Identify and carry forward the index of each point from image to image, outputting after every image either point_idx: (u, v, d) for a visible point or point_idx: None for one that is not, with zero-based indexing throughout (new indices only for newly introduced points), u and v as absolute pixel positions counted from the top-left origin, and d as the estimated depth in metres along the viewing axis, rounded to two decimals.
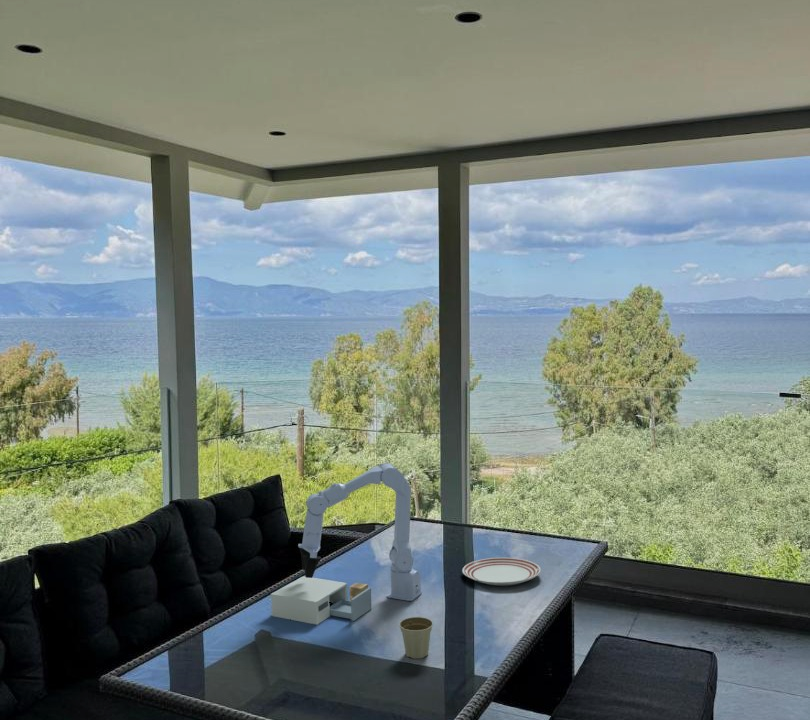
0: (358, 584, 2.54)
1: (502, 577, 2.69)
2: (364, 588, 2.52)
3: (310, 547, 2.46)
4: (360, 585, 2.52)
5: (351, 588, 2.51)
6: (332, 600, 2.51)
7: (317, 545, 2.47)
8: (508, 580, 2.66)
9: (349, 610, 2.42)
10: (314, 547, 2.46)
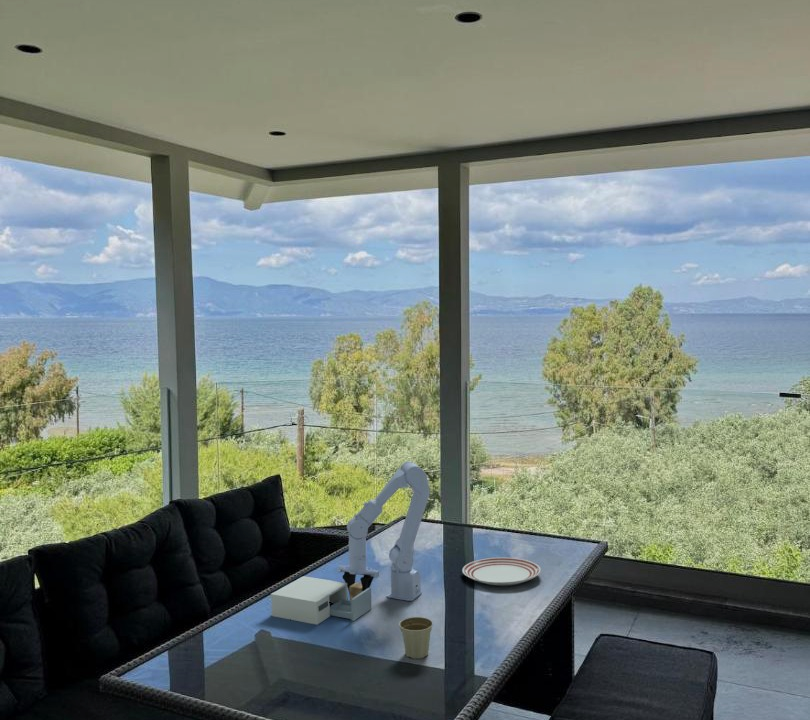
0: (358, 584, 2.54)
1: (502, 577, 2.69)
2: None
3: (364, 569, 2.50)
4: (360, 585, 2.52)
5: (351, 588, 2.51)
6: (332, 600, 2.51)
7: (366, 565, 2.53)
8: (508, 580, 2.66)
9: (349, 610, 2.42)
10: (366, 568, 2.52)
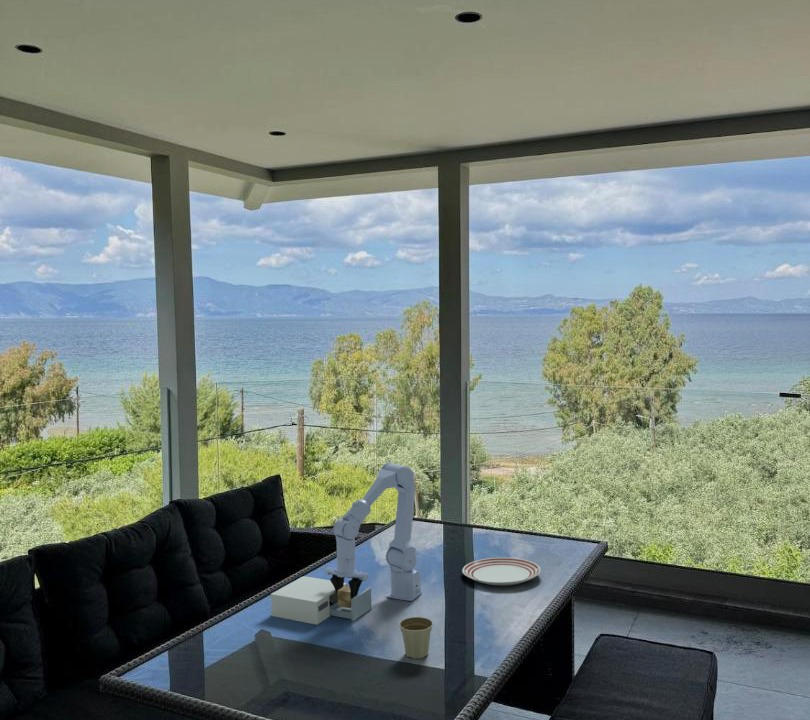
0: (347, 587, 2.43)
1: (502, 577, 2.69)
2: None
3: (353, 572, 2.40)
4: (349, 589, 2.42)
5: (339, 592, 2.41)
6: (332, 600, 2.51)
7: (355, 568, 2.42)
8: (508, 580, 2.66)
9: (349, 610, 2.42)
10: (355, 571, 2.41)
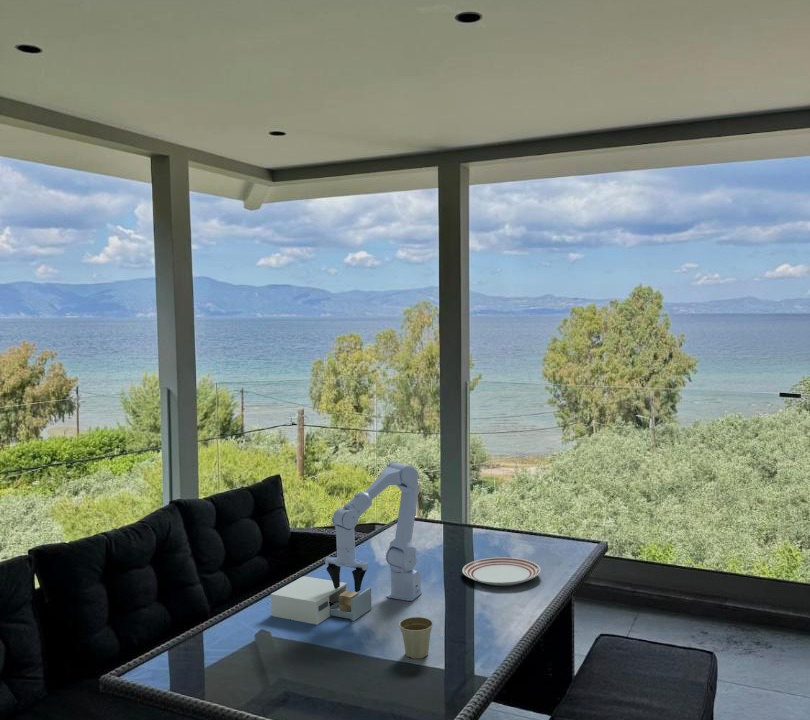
0: (348, 592, 2.44)
1: (502, 577, 2.69)
2: None
3: (353, 561, 2.40)
4: (350, 594, 2.42)
5: (341, 597, 2.41)
6: (332, 600, 2.51)
7: None
8: (508, 580, 2.66)
9: None
10: (355, 560, 2.41)
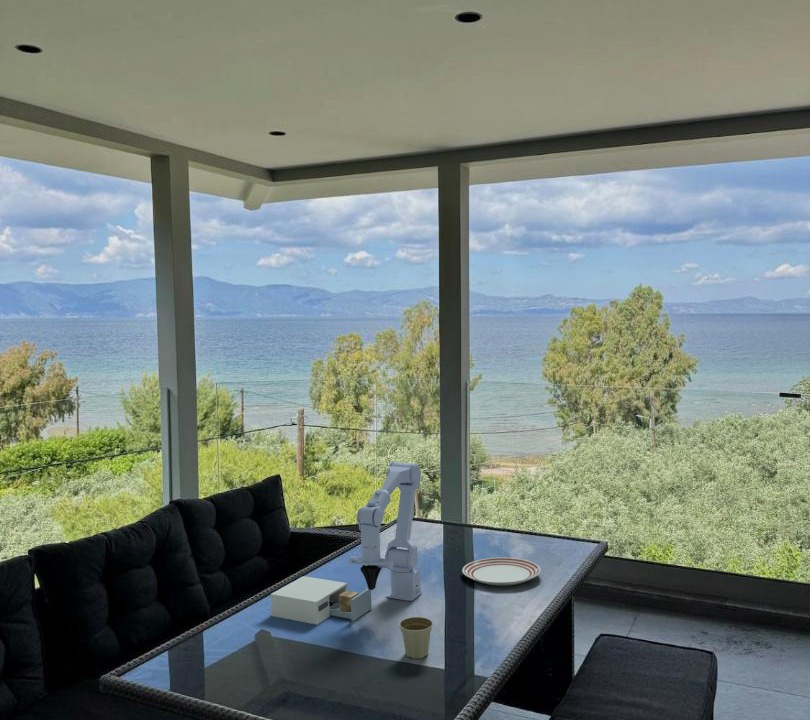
0: (348, 592, 2.44)
1: (502, 577, 2.69)
2: None
3: (378, 560, 2.36)
4: (350, 594, 2.42)
5: (341, 597, 2.41)
6: (332, 600, 2.51)
7: None
8: (508, 580, 2.66)
9: None
10: (380, 559, 2.37)
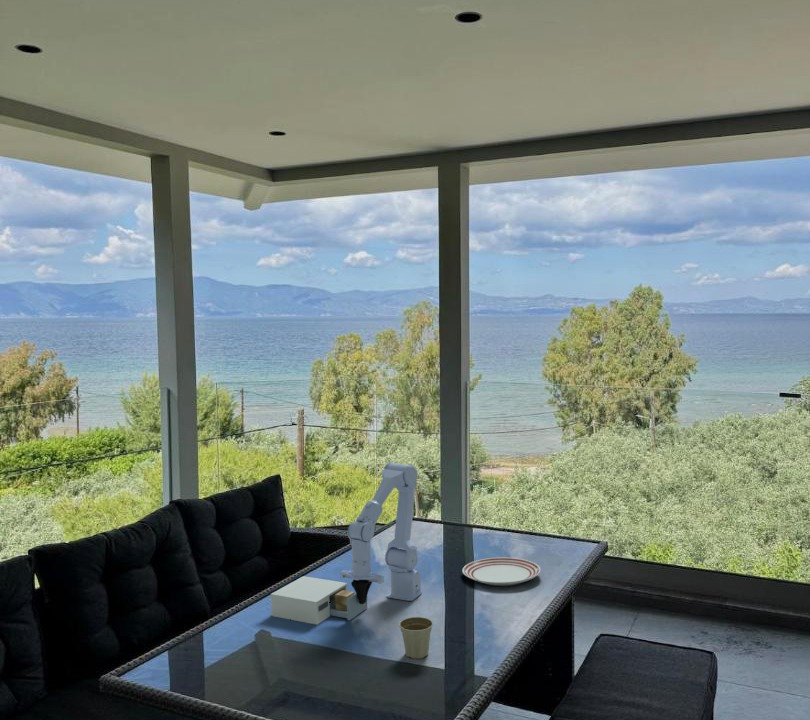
0: (344, 592, 2.44)
1: (502, 577, 2.69)
2: None
3: (368, 575, 2.38)
4: (346, 593, 2.43)
5: (337, 596, 2.42)
6: (332, 600, 2.51)
7: None
8: (508, 580, 2.66)
9: None
10: (370, 573, 2.39)
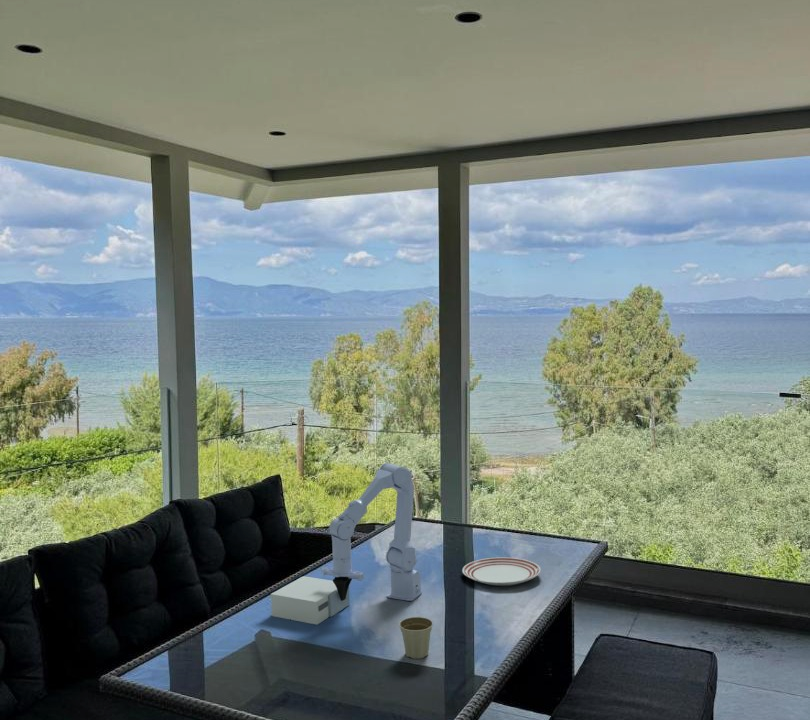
0: None
1: (502, 577, 2.69)
2: None
3: (349, 572, 2.41)
4: None
5: None
6: None
7: None
8: (508, 580, 2.66)
9: None
10: (351, 570, 2.42)
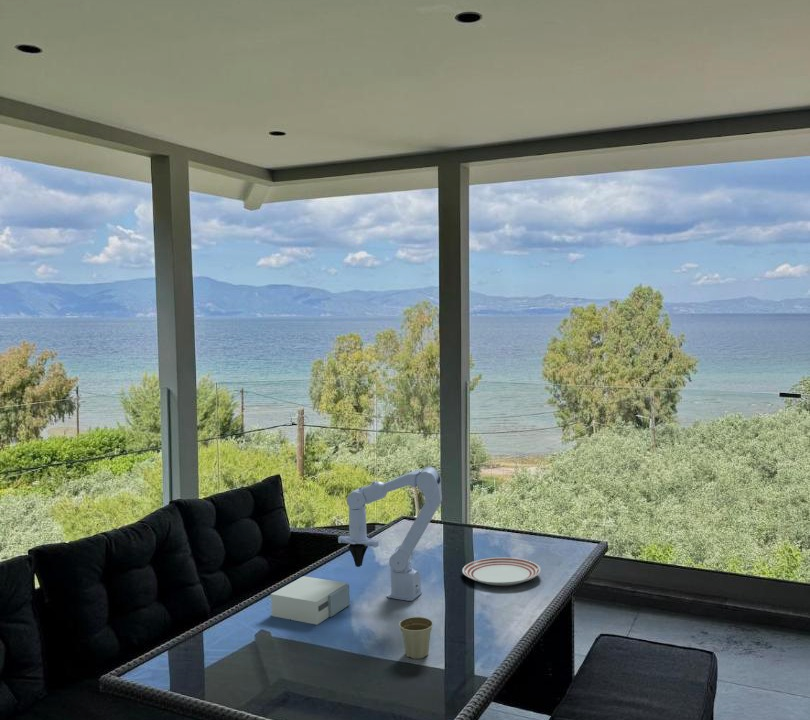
0: None
1: (502, 577, 2.69)
2: None
3: (364, 539, 2.56)
4: None
5: None
6: None
7: None
8: (508, 580, 2.66)
9: None
10: (366, 538, 2.57)
